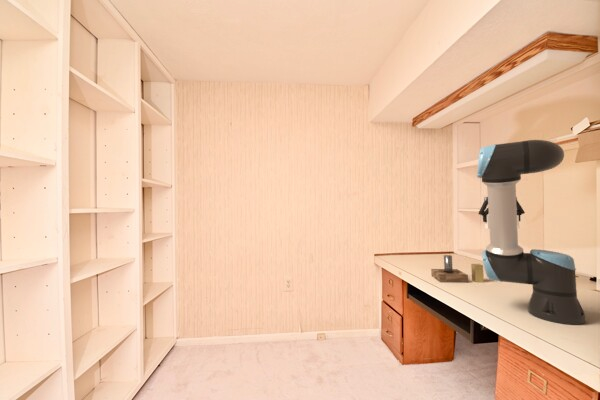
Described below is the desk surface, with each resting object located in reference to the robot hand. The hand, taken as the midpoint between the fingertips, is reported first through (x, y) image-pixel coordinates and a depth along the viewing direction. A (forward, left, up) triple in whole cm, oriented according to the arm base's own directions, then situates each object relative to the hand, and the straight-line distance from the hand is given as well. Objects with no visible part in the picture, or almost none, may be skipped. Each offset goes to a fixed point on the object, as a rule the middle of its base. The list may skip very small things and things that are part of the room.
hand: (501, 228), depth 136 cm
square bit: (+6, +10, -29) cm, 31 cm away
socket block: (+10, +23, -29) cm, 38 cm away
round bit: (+10, +23, -28) cm, 37 cm away
